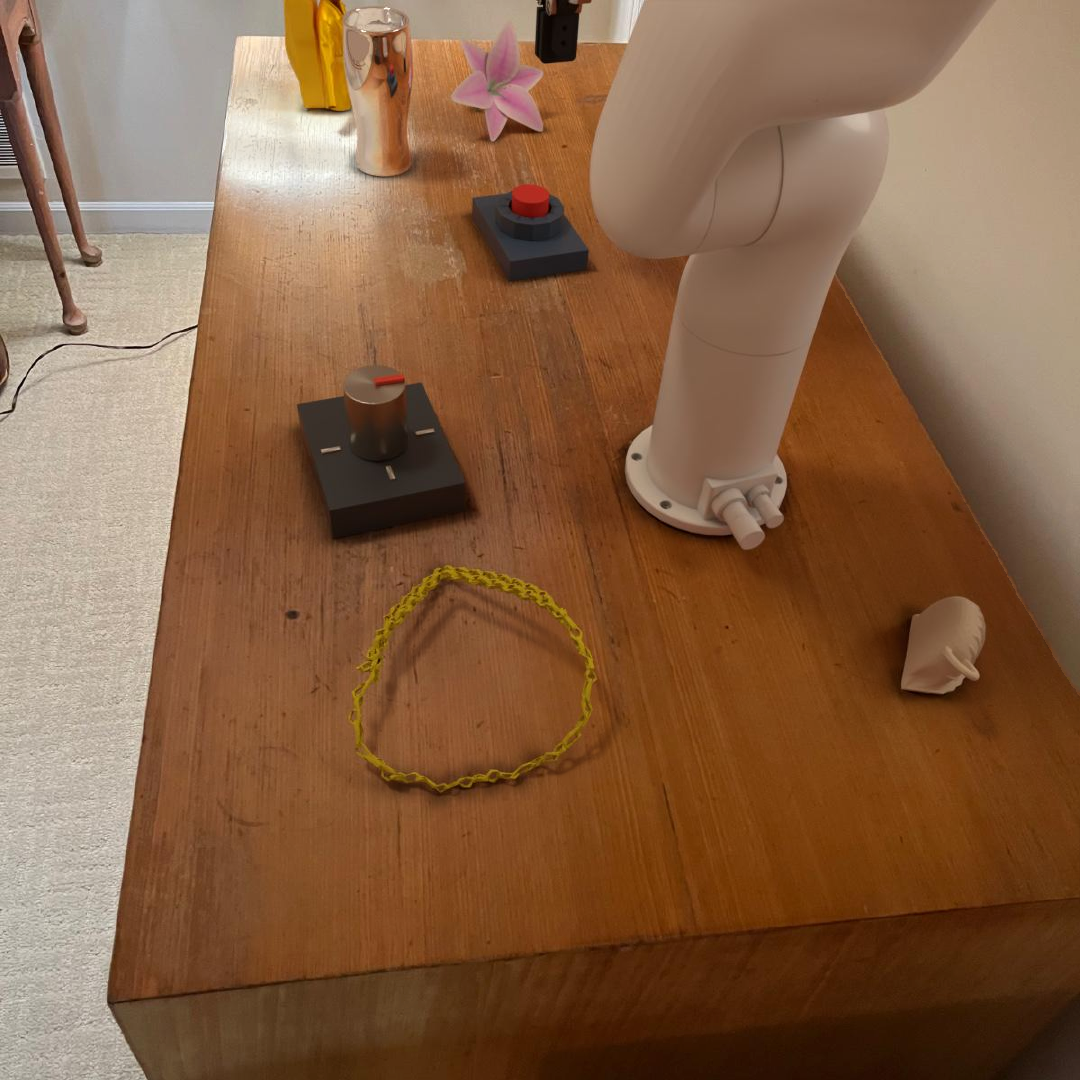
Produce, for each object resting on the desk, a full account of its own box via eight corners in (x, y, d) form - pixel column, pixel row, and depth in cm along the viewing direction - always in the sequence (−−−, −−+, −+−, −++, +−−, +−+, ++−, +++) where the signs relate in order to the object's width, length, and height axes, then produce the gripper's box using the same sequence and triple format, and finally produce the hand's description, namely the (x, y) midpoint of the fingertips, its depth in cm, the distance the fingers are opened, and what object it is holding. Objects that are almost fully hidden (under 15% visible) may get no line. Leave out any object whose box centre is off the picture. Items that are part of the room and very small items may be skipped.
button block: (586, 269, 99) (590, 232, 97) (509, 281, 97) (511, 244, 94) (544, 207, 107) (547, 171, 104) (471, 217, 105) (472, 180, 102)
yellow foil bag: (353, 137, 115) (337, -83, 99) (282, 134, 114) (254, -87, 98) (363, 69, 127) (350, -136, 111) (299, 66, 126) (276, -141, 110)
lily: (433, 148, 116) (463, 89, 108) (430, 66, 120) (459, 4, 112) (529, 172, 121) (564, 118, 113) (523, 93, 125) (557, 35, 117)
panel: (465, 511, 76) (465, 480, 74) (333, 539, 74) (329, 509, 71) (422, 410, 84) (421, 380, 82) (300, 432, 81) (296, 402, 79)
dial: (355, 466, 75) (349, 405, 70) (343, 427, 77) (337, 366, 73) (414, 455, 76) (411, 394, 71) (400, 418, 78) (397, 357, 74)
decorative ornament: (971, 634, 71) (1001, 584, 67) (957, 727, 66) (989, 679, 62) (913, 614, 72) (939, 565, 68) (894, 705, 67) (922, 656, 63)
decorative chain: (438, 570, 72) (429, 527, 69) (635, 635, 68) (636, 593, 64) (313, 760, 63) (295, 721, 60) (532, 851, 58) (526, 815, 55)
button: (553, 217, 99) (554, 200, 98) (518, 221, 98) (519, 205, 97) (540, 198, 101) (542, 182, 100) (506, 202, 100) (507, 186, 99)
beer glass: (400, 184, 108) (393, 38, 97) (340, 170, 109) (327, 24, 98) (425, 155, 113) (422, 13, 102) (368, 142, 114) (358, 0, 103)
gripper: (489, -225, 77) (486, 29, 91) (559, -177, 68) (544, 99, 81) (581, -225, 80) (564, 23, 93) (661, -179, 70) (630, 90, 83)
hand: (555, 58), depth 87 cm, fingers closed
